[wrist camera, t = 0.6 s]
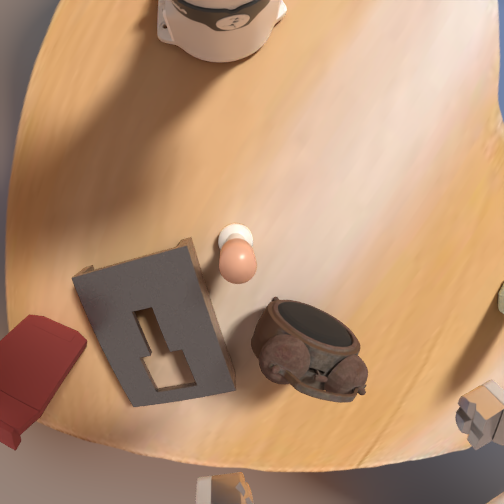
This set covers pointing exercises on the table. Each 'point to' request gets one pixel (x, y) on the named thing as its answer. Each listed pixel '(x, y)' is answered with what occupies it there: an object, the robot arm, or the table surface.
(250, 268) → the peg
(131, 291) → the keyhole board
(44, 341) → the carton
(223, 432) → the table surface
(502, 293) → the water bottle
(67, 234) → the table surface
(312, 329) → the alarm clock
